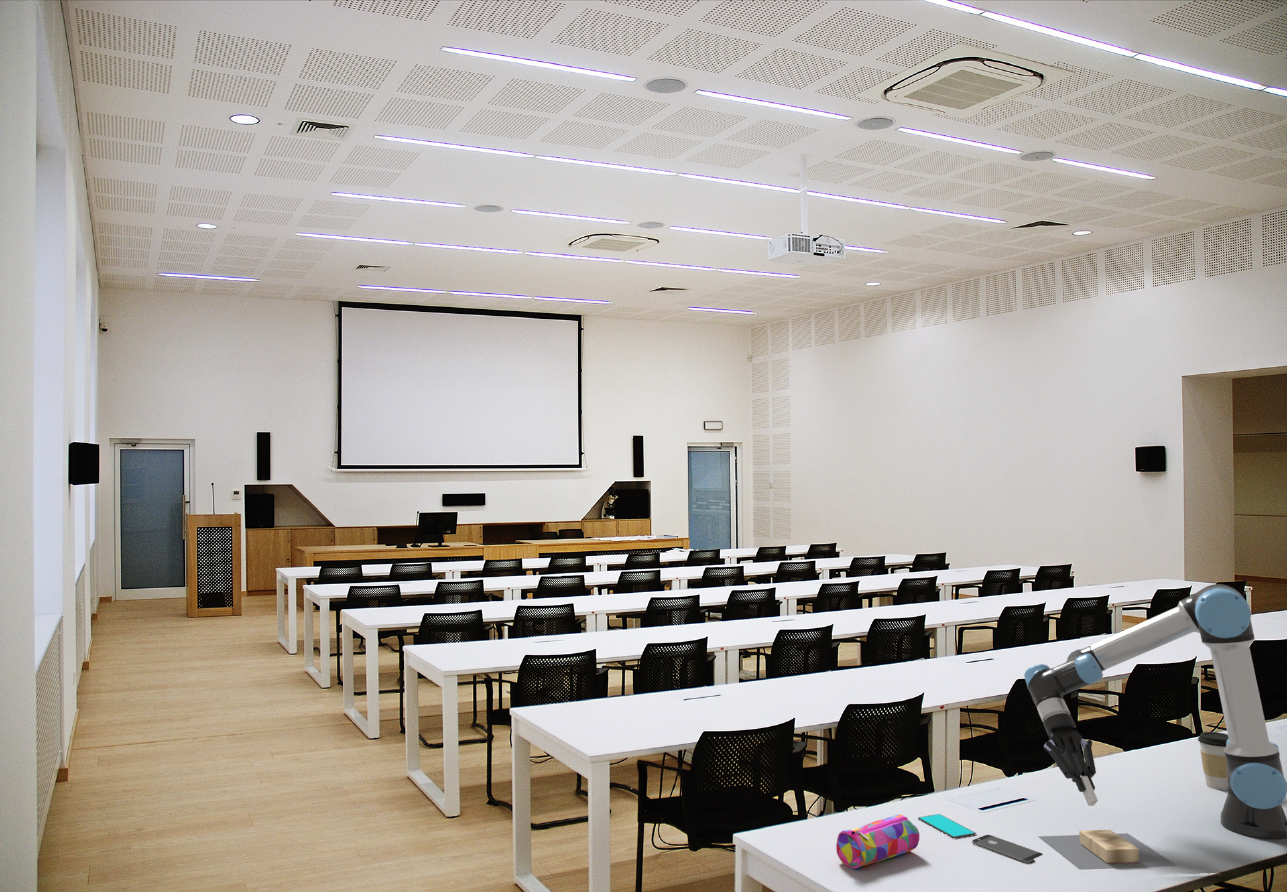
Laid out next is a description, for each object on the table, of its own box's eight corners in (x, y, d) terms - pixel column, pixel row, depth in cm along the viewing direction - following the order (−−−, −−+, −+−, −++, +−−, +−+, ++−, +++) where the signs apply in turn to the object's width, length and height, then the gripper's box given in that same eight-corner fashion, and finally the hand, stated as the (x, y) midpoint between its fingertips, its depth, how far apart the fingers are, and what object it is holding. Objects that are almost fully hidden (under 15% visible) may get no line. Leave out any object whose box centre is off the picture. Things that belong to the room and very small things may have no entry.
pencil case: (861, 876, 216) (860, 837, 216) (832, 863, 224) (831, 825, 224) (923, 855, 228) (922, 818, 228) (893, 842, 236) (892, 807, 236)
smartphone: (953, 837, 238) (917, 817, 252) (953, 840, 238) (917, 820, 252) (977, 833, 240) (939, 813, 254) (977, 836, 240) (939, 816, 254)
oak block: (1110, 829, 233) (1138, 848, 221) (1110, 842, 233) (1138, 862, 221) (1079, 830, 232) (1106, 849, 220) (1079, 843, 232) (1106, 863, 220)
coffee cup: (1237, 784, 278) (1236, 734, 278) (1237, 793, 269) (1236, 742, 270) (1199, 778, 283) (1198, 729, 284) (1198, 788, 275) (1197, 737, 275)
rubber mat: (1127, 835, 239) (1127, 833, 239) (1177, 868, 219) (1177, 865, 219) (1037, 838, 237) (1037, 836, 237) (1079, 871, 217) (1079, 869, 218)
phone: (1045, 858, 226) (988, 837, 239) (1045, 854, 226) (987, 833, 239) (1027, 865, 222) (970, 844, 235) (1027, 861, 222) (969, 840, 235)
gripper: (1074, 725, 253) (1111, 808, 236) (1029, 727, 252) (1063, 810, 235) (1085, 711, 248) (1123, 795, 231) (1038, 712, 247) (1073, 797, 230)
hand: (1093, 803), depth 233 cm, fingers closed
